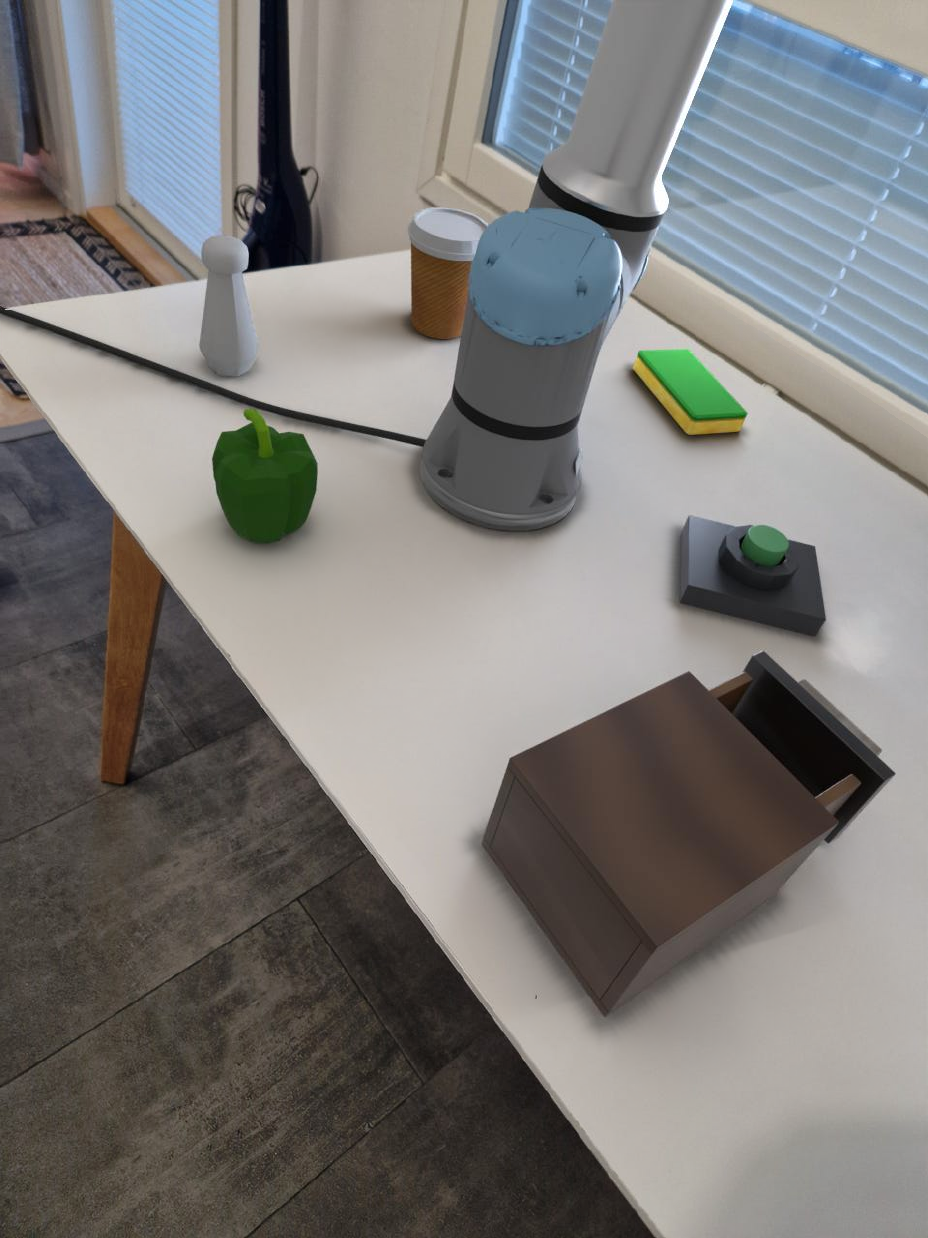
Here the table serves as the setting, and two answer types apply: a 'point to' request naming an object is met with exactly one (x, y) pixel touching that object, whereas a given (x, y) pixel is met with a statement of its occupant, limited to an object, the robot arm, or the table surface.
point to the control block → (749, 578)
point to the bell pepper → (264, 479)
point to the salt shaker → (227, 308)
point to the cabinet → (649, 835)
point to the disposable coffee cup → (441, 268)
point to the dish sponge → (689, 391)
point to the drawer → (807, 737)
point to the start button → (764, 545)
